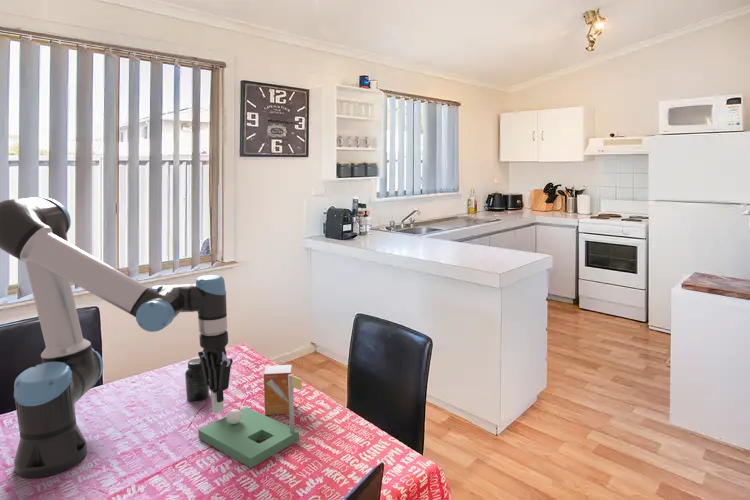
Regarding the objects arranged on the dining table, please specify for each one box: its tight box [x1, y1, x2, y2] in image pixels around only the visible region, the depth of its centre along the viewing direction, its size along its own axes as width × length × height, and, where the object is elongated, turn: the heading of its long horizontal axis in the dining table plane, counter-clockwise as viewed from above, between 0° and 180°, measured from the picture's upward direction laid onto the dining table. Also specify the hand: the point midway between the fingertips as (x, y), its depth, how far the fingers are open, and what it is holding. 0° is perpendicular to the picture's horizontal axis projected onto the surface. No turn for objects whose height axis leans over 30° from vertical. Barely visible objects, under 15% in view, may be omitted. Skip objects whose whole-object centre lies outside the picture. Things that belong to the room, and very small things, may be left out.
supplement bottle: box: [184, 358, 210, 402], centre depth 156 cm, size 7×7×12 cm
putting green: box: [197, 373, 303, 469], centre depth 130 cm, size 25×16×18 cm, turn 53°
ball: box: [226, 408, 242, 424], centre depth 135 cm, size 4×4×4 cm
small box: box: [263, 364, 293, 416], centre depth 147 cm, size 8×6×13 cm
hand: (218, 411), depth 140 cm, fingers closed
